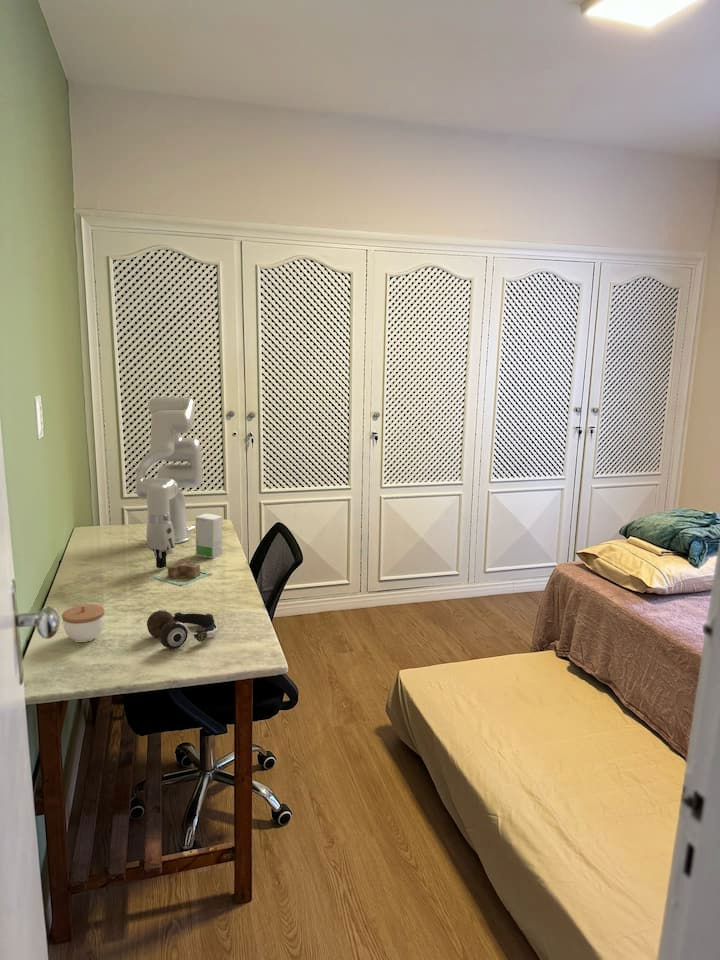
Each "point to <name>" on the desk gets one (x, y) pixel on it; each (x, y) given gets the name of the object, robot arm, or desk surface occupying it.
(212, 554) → the skincare box
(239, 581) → the desk surface
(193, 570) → the tee block
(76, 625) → the lidded jar
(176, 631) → the headset
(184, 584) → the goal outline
